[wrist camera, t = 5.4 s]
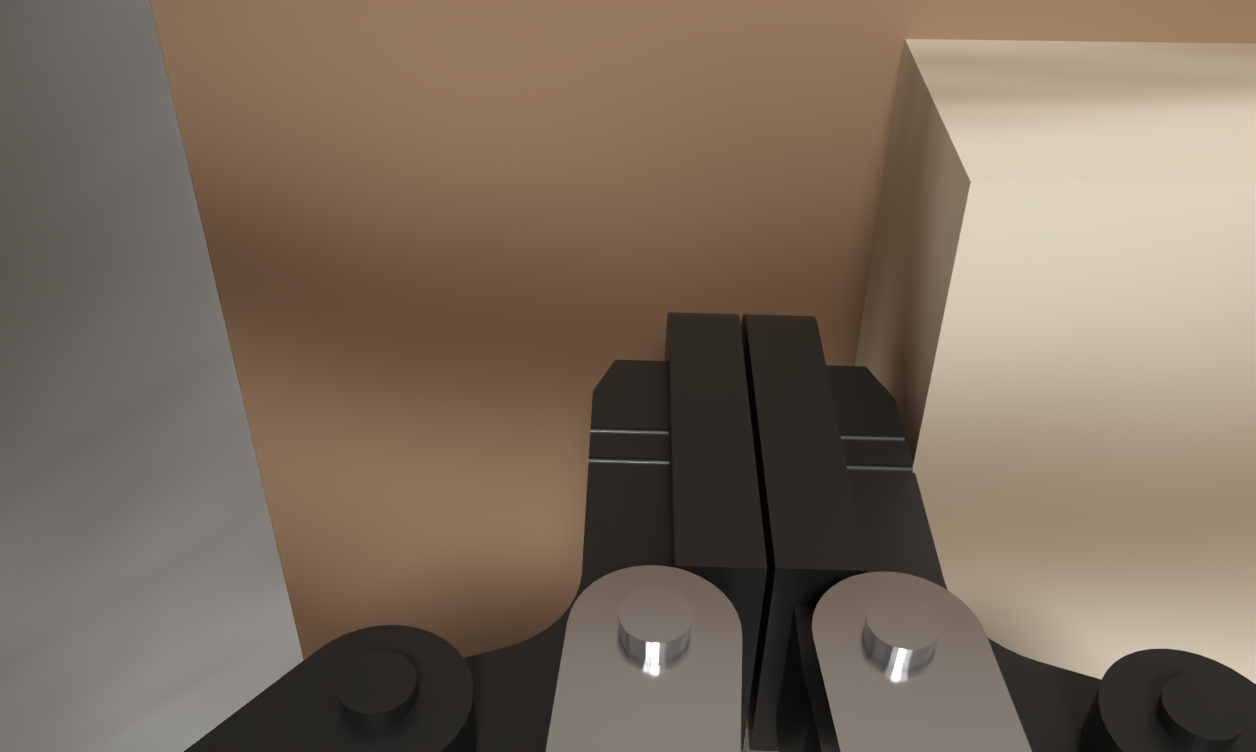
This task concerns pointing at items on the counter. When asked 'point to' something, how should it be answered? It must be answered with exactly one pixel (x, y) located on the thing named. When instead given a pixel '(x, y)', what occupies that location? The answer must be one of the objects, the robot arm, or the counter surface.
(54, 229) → the counter surface
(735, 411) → the robot arm
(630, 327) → the brown flat block
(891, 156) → the beige block
